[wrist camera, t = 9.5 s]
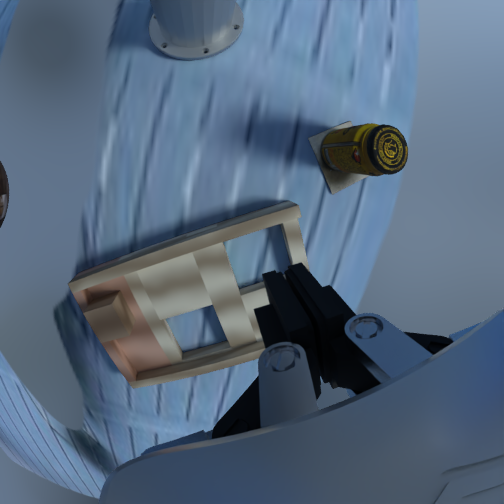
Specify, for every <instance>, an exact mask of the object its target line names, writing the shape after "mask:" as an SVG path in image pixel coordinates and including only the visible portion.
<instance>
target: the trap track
mask: <svg viewBox="0 0 504 504" xmlns="http://www.w3.org/2000/svg"><path fill="white" fill-rule="evenodd" d="M300 217H301V213H300V209H299V205H297V204H295V203H293V202H291V201H286V202H283V203H280V204H276V205H273V206H270V207H266V208H263V209H260V210H257V211H253V212H250V213H247V214H244V215H241V216H238V217H234V218H231V219H228V220H225V221H222V222H219V223H216V224H213V225H210V226H207V227H204V228H201V229H198V230H195V231H192V232H189V233H186V234H183V235H180V236H177V237H174V238H171V239H168V240H166V241H163V242H160V243H157V244H154V245H151V246H149V247H146V248H143V249H140V250H138V251H135V252H132V253H129V254H127V255H124V256H121V257H119V258H116V259H113V260H111V261H108V262H105V263H103V264H100V265H98V266H95V267H92V268H90V269H87V270H85V271H82V272H80V273H78V274H77V275H76V276H75V277H74V278H73V279H72V280H71V281H70V282H69V283H68V285H69V287H70V289H71V291H72V293H73V295H74V297H75V299H76V301H77V303H78V305H79V307H80V308H81V310H82V312H84V311H85V309H86V308H87V307H88V305H89V304H90V302H91V301H92V300H93V299H95V298H98V297H101V296H104V295H107V294H110V293H113V292H116V291H119V290H121V292H122V294H123V296H124V298H125V300H126V302H127V304H128V306H129V308H130V310H131V312H132V314H133V316H134V317H135V319H136V321H135V323H134V326H133V328H132V331H131V334H130V336H127V337H123V338H119V339H115V340H111V341H107V342H103V343H101V344H102V345H103V347H104V348H105V350H106V351H107V353H108V354H109V356H110V357H111V359H112V360H113V362H114V363H115V365H116V366H117V367H118V369H119V370H120V372H121V373H122V374H123V376H124V377H125V378H126V380H127V381H128V383H129V384H130V385H131V386H132V388H139V387H145V386H150V385H155V384H160V383H165V382H170V381H175V380H179V379H184V378H188V377H192V376H197V375H201V374H205V373H209V372H212V371H216V370H220V369H224V368H227V367H231V366H234V365H238V364H241V363H245V362H248V361H251V360H255V359H258V358H259V357H260V355H261V353H262V352H263V351H264V350H265V346H264V342H263V339H262V336H261V333H260V329H259V326H258V323H257V319H256V316H255V313H254V309H255V308H258V307H262V306H265V305H268V304H269V300H268V296H267V292H266V288H265V284H264V281H263V282H260V283H257V284H254V285H251V286H248V287H244V288H241V289H239V288H238V285H237V282H236V279H235V276H234V273H233V270H232V267H231V264H230V261H229V259H228V256H227V253H226V250H225V247H224V244H223V242H224V241H227V240H231V239H234V238H237V237H240V236H243V235H246V234H249V233H252V232H255V231H259V230H262V229H265V228H268V227H271V226H274V225H278V224H280V225H281V229H282V233H283V236H284V240H285V244H286V248H287V252H288V256H289V260H290V264H291V265H294V264H297V263H300V262H302V263H303V265H304V266H305V267H306V268H307V269H308V270H309V266H308V262H307V257H306V252H305V248H304V244H303V239H302V235H301V231H300V226H299V222H298V218H300ZM309 272H310V271H309ZM283 276H284V277H285V274H284V275H283ZM285 279H286V277H285ZM209 305H213V306H214V309H215V311H216V314H217V316H218V318H219V321H220V323H221V325H222V328H223V330H224V332H225V335H226V337H227V339H228V340H227V341H224V342H220V343H217V344H213V345H210V346H206V347H203V348H199V349H195V350H192V351H188V352H184V353H183V352H182V350H181V348H180V346H179V344H178V343H177V341H176V339H175V337H174V335H173V333H172V331H171V330H170V328H169V326H168V324H167V322H166V320H165V319H166V318H169V317H173V316H176V315H180V314H183V313H186V312H190V311H193V310H196V309H200V308H203V307H206V306H209Z"/></svg>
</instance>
